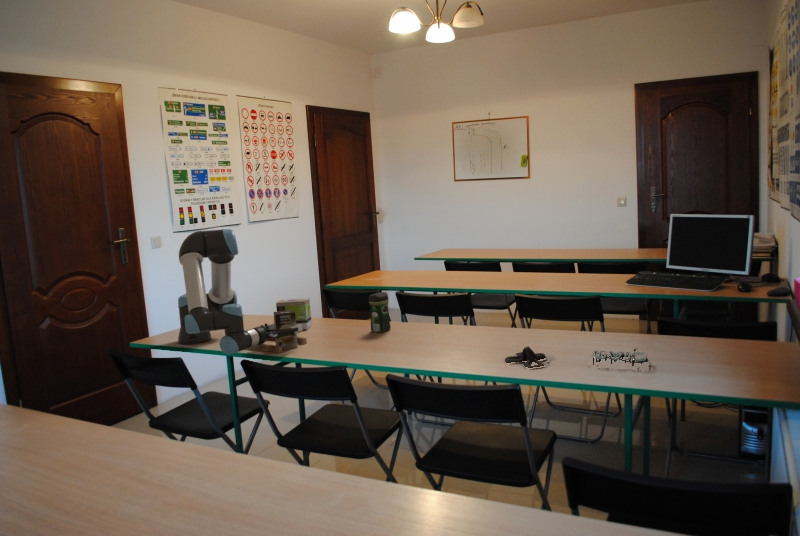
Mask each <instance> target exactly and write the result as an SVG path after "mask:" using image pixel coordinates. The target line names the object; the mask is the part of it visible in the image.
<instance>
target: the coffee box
mask: <svg viewBox="0 0 800 536" xmlns="http://www.w3.org/2000/svg"><path fill="white" fill-rule="evenodd" d="M273 323H274V328H275V329H276V330H279V329H288V328H290V327H293V326H296V315H295V311H293V310H289V311H278V312H277V311H273ZM297 337H298V332H296V333H295V335H293V336H292V335H290V336H284V337H279V338H275V340H274V341H275V346H281V347H282V350H287V349H288V350H289V349H295V348H298V345H299V343H297Z"/></svg>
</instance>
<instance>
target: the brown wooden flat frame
mask: <svg viewBox="0 0 800 536" xmlns="http://www.w3.org/2000/svg"><path fill="white" fill-rule="evenodd" d="M270 340H272V341H275V339H273V338H270V339H266V341H265V342H267V341H270ZM307 343H308V342H307V337H300V336H297V344H298V345H299V344H300V345H301V344H302V345H306V344H307ZM251 348H252V349H251V350H256V349H257V351H264V352H271V353H277V354H281V353H283V349H282V347H281V346H276V345H273V344H266V343H263V344H261V345H257V346H254V347H251Z"/></svg>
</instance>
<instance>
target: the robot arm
mask: <svg viewBox="0 0 800 536" xmlns="http://www.w3.org/2000/svg"><path fill="white" fill-rule="evenodd" d="M237 243H238V242H237V238H236V233H235V230H233V229H231V228H226V229H225V228H222V229H213V230H211V229H210V230H197V231H194V232H192V233H190V234H188V235H187V237H186V238H185V239H184V240H183V242H182V243H181V245H180V248H179V251H178V261H179V264H180V265H182V272H183V279H184V286H185V292H186V293H185V294H183V295H180V296H179V297H178V299H177V307H178V314H179V325H180V327H179V328H180V329H179V333H178V337H177V341H178V344H179V345H195V344H201V343H205V342H209V341H211V340H212V334H211V332H214V331H215V332H216V331H222V330H224V336H222V337H220V341H219V348H220V350H221V352H222V353H223V354H226V355H232V354H235V353H239V352H242V351H244V350H247V349H249V350H252V349H251V347H254V346H257V345H261V344H266V342H267V341H266V339H270V338H273V339H275V338H279V337H284V336H290V335H292V336H293V335H295V333H296V332H297V333H298V332H301V331H303V330H302V324H300V325H296V326H293V327H290V328H288V329H279V330H276V329H275V328H274V322H273V323H271V324H268V323H264V325H263V324H262V325H260V326H255V327H252V328H248V329H245V325H244V314H243V309H242V308H243V307H242V306H241V304H239V303H238V295H237V292H236V291H235V290H233V288H231V286H232V285H231V281H232V278H231V277H232V274H231V273H232V268H231V267H232V261H233V260H234V259H235V256H237V255H238V254H239V248H238V244H237ZM205 258H207V259H208V260H209V261H210V262H211V263H210V266H211V268H210V269H211V273H210V274H211V275H210V276H211V288H210V289H209V291H208V293H207V291H206V286H205V279H204V272H203V266H202V265H203V264H202V263H203V261H204V259H205Z"/></svg>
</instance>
